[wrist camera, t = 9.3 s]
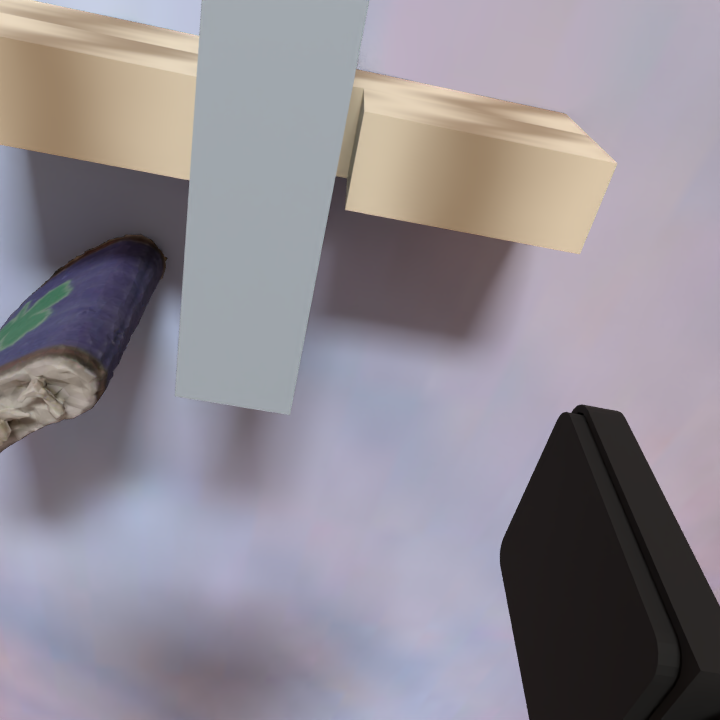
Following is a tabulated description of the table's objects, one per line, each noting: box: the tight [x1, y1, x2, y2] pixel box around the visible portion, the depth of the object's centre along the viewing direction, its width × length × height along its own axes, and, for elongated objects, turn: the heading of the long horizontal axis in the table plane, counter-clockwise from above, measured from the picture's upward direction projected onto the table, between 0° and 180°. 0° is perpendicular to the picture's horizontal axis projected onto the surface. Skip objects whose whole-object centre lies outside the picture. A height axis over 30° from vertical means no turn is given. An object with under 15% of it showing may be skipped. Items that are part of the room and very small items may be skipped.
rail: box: [0, 0, 617, 254], centre depth 22 cm, size 20×3×6 cm, turn 79°
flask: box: [0, 235, 167, 453], centre depth 25 cm, size 9×3×11 cm, turn 124°
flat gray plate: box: [175, 0, 369, 415], centre depth 20 cm, size 10×3×12 cm, turn 168°
